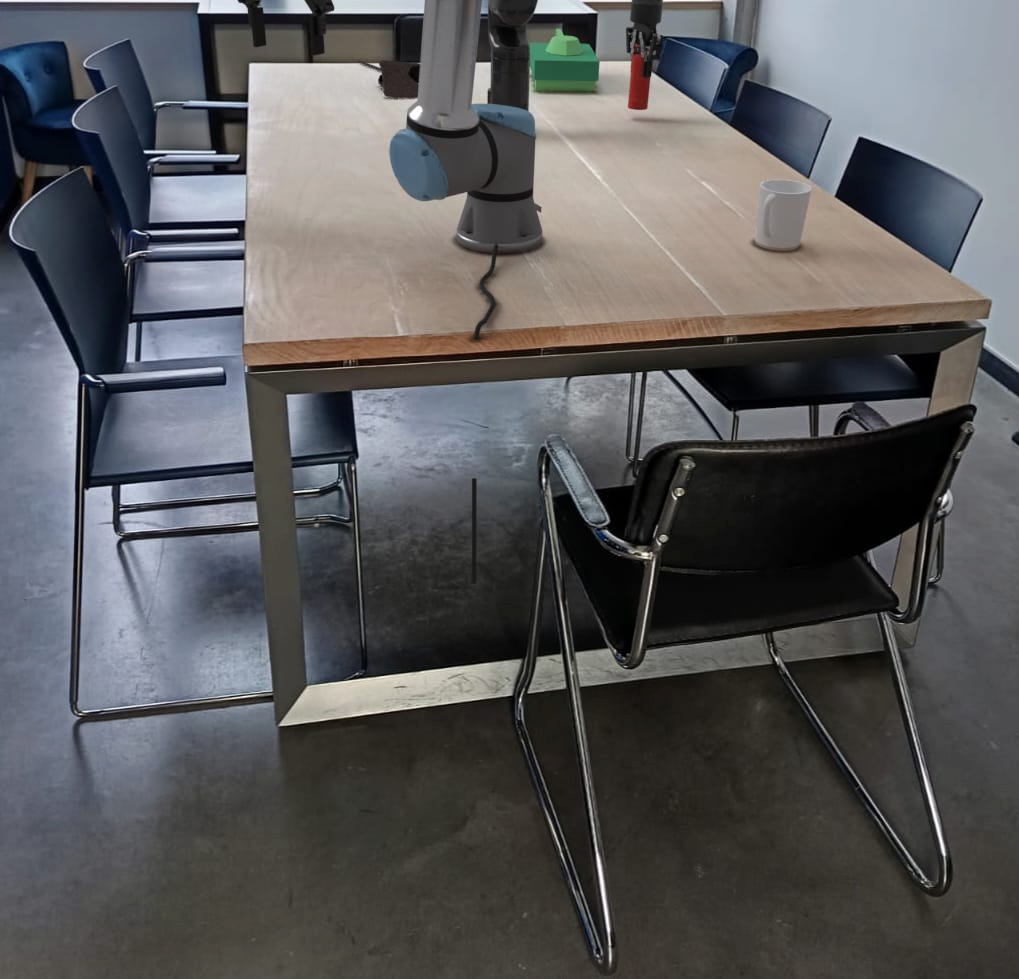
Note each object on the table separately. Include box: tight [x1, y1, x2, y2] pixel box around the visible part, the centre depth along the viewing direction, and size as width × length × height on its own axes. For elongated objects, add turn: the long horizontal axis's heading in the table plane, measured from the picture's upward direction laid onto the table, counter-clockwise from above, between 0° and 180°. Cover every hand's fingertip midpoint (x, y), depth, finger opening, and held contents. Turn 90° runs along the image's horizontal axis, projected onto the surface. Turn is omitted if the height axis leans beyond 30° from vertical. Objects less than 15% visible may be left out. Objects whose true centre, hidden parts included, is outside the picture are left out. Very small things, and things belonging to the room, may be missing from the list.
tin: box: [627, 53, 651, 111], centre depth 273 cm, size 5×5×12 cm
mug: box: [754, 178, 812, 252], centre depth 194 cm, size 11×9×10 cm
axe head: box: [377, 59, 420, 99], centre depth 299 cm, size 18×8×15 cm
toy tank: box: [529, 28, 601, 92], centre depth 313 cm, size 18×12×35 cm
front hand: (288, 50), depth 200 cm, fingers open, 13 cm apart
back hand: (640, 74), depth 272 cm, fingers closed on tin, 5 cm apart
